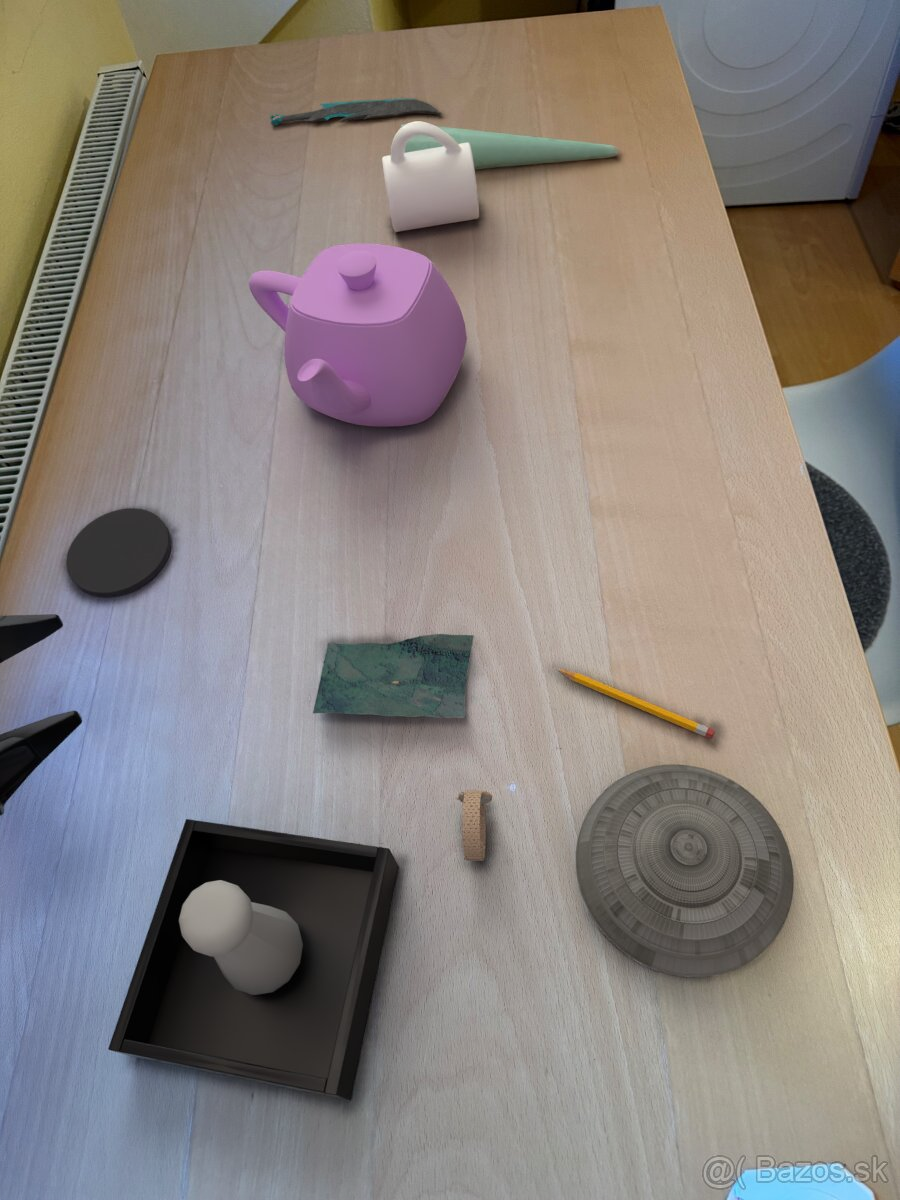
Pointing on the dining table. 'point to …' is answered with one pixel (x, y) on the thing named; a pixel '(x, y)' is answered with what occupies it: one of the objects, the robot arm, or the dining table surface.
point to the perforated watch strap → (474, 823)
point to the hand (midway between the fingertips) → (69, 665)
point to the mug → (429, 180)
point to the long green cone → (514, 148)
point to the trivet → (118, 552)
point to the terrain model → (397, 677)
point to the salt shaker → (242, 937)
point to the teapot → (367, 333)
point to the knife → (361, 110)
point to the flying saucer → (684, 870)
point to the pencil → (639, 703)
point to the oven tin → (299, 1007)
